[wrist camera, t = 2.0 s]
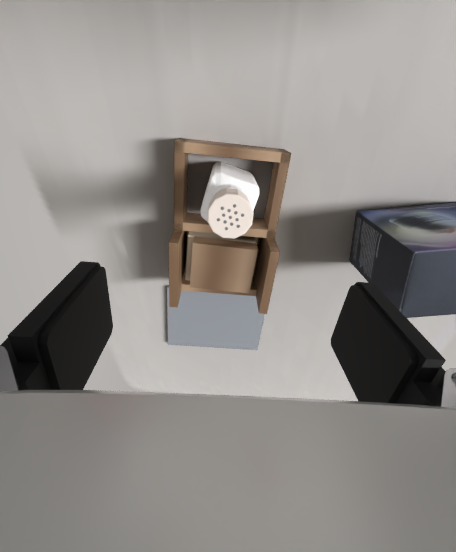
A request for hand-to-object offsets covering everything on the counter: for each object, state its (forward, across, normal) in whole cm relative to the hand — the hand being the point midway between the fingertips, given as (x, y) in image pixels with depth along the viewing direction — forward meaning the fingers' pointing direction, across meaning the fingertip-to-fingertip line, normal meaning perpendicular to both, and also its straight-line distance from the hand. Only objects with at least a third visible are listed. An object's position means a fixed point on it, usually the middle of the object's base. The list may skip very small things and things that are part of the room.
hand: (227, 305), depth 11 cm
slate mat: (+19, 0, +16) cm, 25 cm away
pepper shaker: (+19, 0, -1) cm, 19 cm away
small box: (+19, -20, +2) cm, 27 cm away
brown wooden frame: (+19, 0, +2) cm, 19 cm away
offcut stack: (+19, 0, +6) cm, 20 cm away
